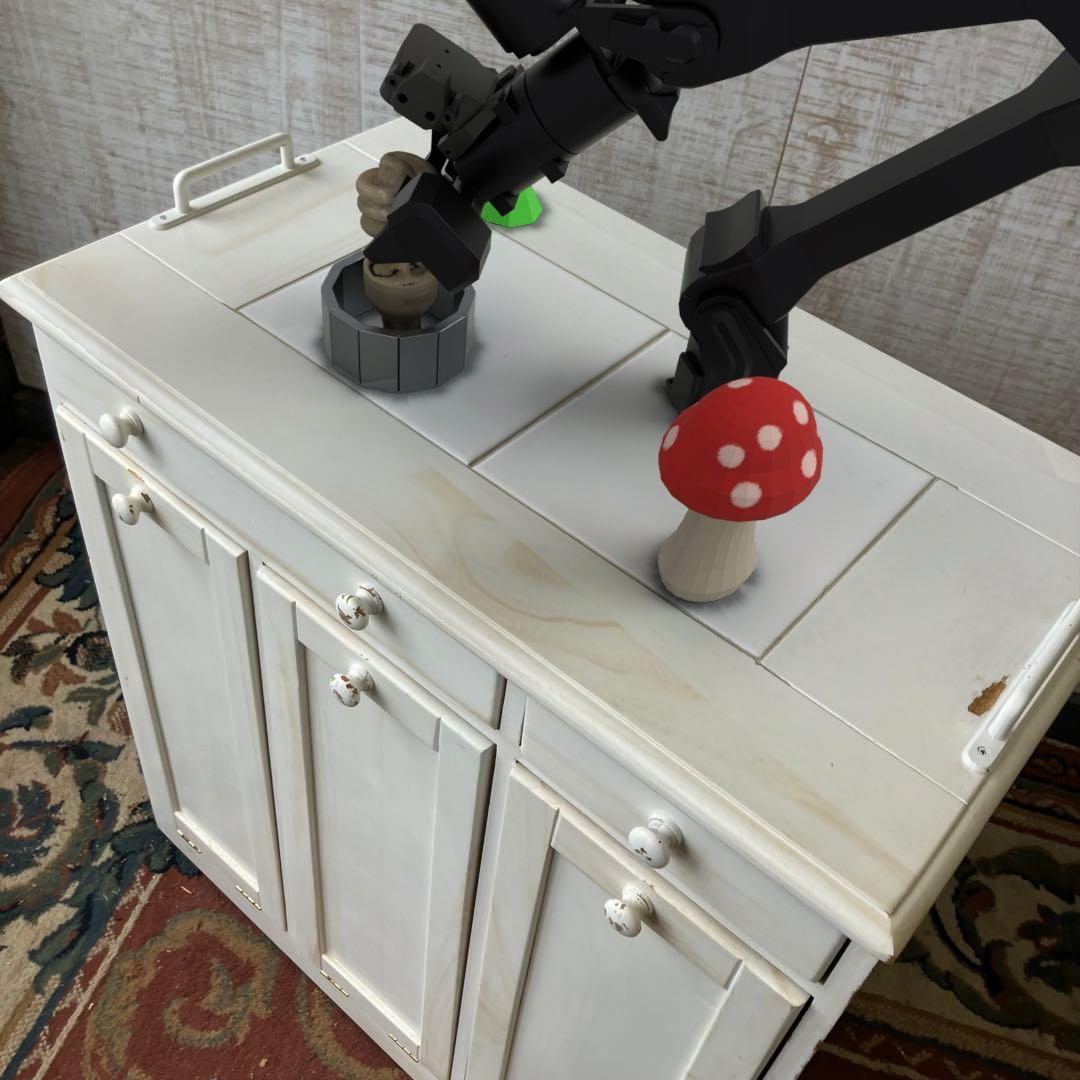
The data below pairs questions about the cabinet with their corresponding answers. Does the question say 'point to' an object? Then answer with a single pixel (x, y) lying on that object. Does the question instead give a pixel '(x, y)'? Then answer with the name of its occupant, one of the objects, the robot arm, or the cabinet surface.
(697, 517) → the decorative mushroom
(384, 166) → the light bulb
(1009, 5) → the robot arm
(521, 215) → the green faceted cone
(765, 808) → the cabinet surface
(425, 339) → the faceted gray ring
